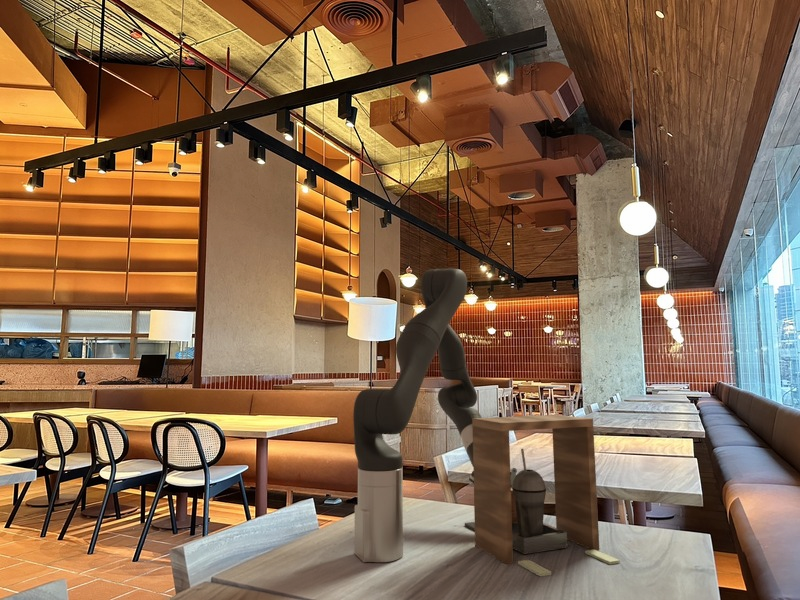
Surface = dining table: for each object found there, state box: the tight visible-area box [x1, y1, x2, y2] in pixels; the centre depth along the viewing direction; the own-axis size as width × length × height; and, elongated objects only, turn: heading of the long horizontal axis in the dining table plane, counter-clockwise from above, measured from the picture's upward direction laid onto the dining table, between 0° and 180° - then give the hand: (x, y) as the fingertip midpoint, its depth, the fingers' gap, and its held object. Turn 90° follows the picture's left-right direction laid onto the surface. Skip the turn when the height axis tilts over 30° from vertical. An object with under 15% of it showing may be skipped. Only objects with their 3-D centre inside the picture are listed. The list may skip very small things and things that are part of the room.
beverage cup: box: [512, 448, 547, 537], centre depth 119 cm, size 7×7×20 cm
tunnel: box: [472, 414, 600, 565], centre depth 118 cm, size 23×12×27 cm, turn 112°
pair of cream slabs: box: [517, 549, 621, 577], centre depth 106 cm, size 18×7×1 cm, turn 112°
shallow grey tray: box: [511, 488, 568, 555], centre depth 119 cm, size 11×13×10 cm
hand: (508, 507), depth 126 cm, fingers closed
